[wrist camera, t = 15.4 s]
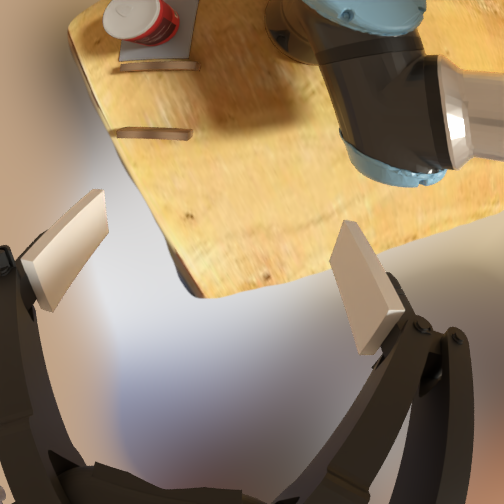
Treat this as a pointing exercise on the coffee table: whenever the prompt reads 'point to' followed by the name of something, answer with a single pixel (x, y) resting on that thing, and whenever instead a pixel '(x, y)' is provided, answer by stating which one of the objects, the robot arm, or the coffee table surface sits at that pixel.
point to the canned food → (141, 21)
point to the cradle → (151, 131)
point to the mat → (177, 46)
